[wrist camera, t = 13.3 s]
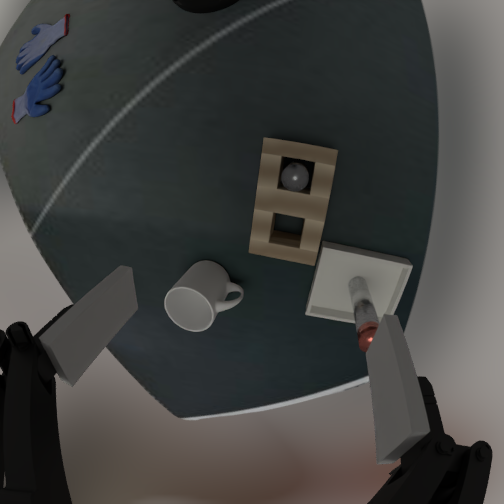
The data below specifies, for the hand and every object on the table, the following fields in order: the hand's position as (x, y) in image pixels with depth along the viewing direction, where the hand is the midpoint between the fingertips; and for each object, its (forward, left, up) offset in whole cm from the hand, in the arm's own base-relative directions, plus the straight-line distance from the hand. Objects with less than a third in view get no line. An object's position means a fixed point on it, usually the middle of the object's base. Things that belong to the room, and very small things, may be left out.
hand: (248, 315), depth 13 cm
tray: (+13, +14, -33) cm, 38 cm away
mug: (+18, -11, -33) cm, 39 cm away
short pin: (-4, 0, -33) cm, 33 cm away
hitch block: (0, 0, -33) cm, 33 cm away
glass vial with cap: (+13, +14, -32) cm, 37 cm away
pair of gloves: (-29, -67, -33) cm, 80 cm away
